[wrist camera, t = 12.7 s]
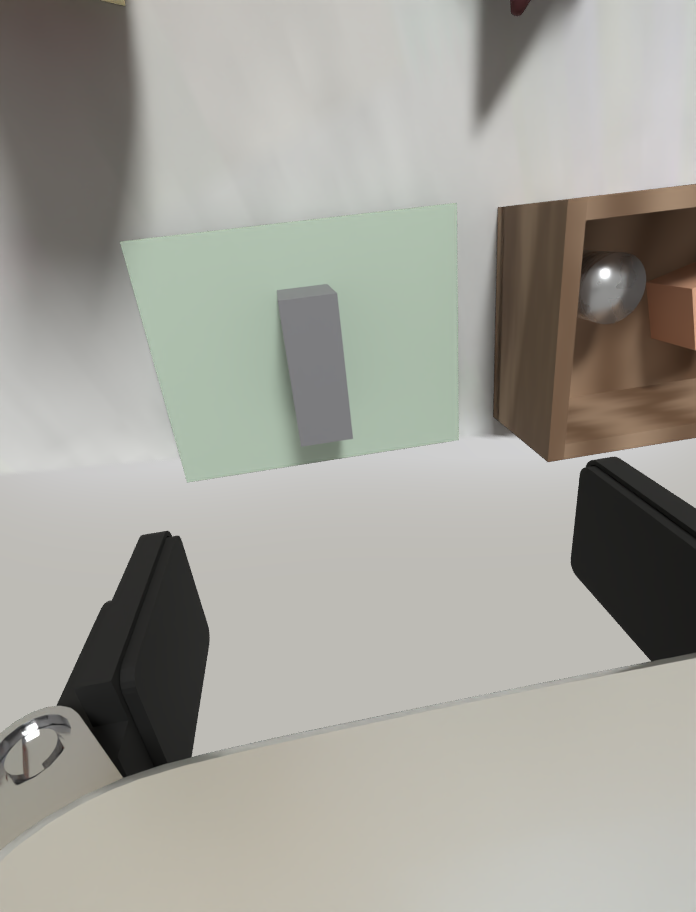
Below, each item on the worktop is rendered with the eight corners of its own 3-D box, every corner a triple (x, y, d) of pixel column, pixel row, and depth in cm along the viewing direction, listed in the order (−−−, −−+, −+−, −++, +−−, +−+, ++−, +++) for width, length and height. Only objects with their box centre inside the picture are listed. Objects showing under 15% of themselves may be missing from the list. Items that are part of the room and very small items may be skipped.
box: (762, 176, 32) (905, 159, 25) (716, 382, 38) (819, 417, 31) (498, 207, 30) (568, 199, 23) (493, 416, 36) (547, 462, 29)
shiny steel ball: (607, 246, 31) (651, 248, 28) (600, 310, 33) (640, 319, 30) (548, 253, 31) (584, 256, 27) (544, 317, 33) (577, 328, 29)
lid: (445, 204, 30) (491, 197, 24) (449, 429, 36) (486, 471, 30) (129, 240, 28) (88, 243, 22) (191, 469, 35) (173, 522, 28)
